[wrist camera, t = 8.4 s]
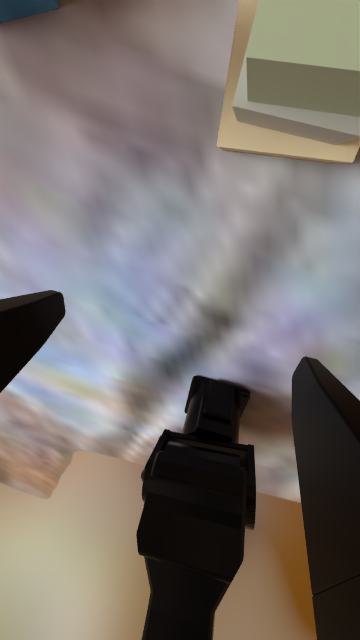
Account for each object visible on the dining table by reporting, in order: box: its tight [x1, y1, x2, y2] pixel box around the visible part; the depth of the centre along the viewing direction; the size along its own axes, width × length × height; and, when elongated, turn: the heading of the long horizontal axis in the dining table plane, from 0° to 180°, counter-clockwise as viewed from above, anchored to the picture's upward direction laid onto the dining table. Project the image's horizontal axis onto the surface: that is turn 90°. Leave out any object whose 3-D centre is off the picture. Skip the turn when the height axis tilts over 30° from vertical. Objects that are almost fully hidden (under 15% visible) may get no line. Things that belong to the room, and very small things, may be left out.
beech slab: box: [217, 0, 360, 163], centre depth 13 cm, size 7×7×4 cm
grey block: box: [232, 17, 360, 145], centre depth 9 cm, size 5×5×4 cm
